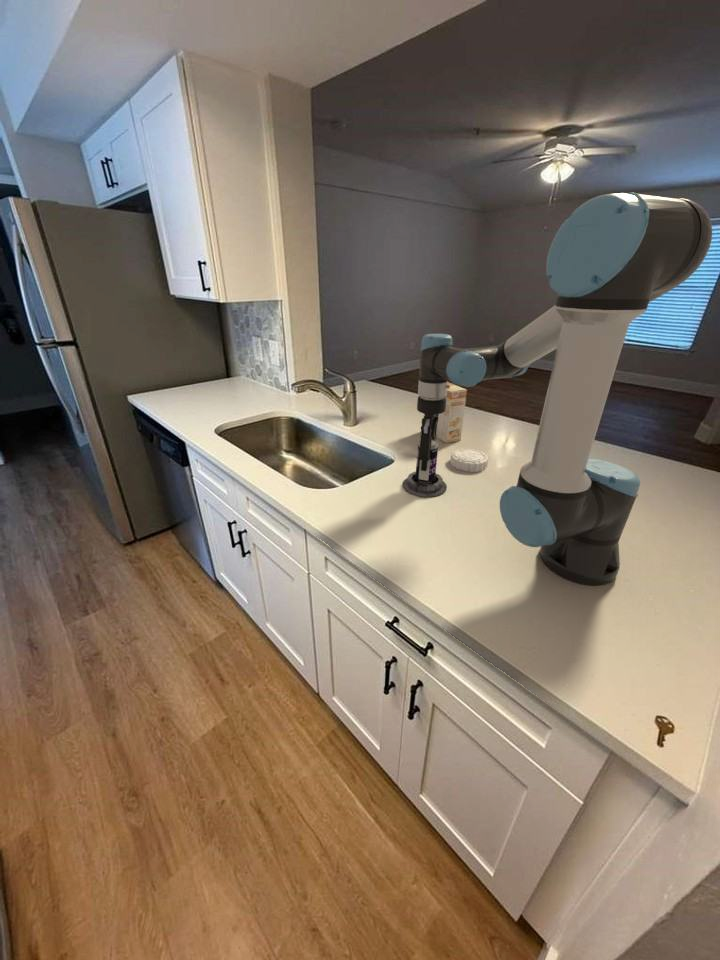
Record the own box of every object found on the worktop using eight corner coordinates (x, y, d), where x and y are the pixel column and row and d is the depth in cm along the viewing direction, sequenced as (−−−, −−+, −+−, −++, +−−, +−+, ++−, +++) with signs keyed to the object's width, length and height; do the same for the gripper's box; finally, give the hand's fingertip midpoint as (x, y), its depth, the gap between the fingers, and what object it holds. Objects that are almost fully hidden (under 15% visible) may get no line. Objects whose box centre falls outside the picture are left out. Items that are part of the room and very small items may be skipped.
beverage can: (419, 485, 111) (422, 447, 105) (412, 476, 116) (414, 439, 110) (438, 483, 112) (442, 444, 107) (429, 474, 117) (433, 437, 112)
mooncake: (445, 468, 126) (447, 458, 125) (455, 454, 136) (456, 444, 134) (483, 475, 122) (485, 465, 120) (490, 460, 131) (491, 451, 130)
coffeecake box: (461, 440, 146) (468, 389, 137) (445, 443, 144) (450, 391, 135) (440, 427, 159) (444, 379, 149) (424, 430, 156) (428, 381, 147)
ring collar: (443, 500, 108) (444, 492, 107) (397, 493, 112) (398, 485, 110) (449, 479, 119) (450, 472, 118) (407, 473, 122) (408, 466, 121)
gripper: (441, 408, 94) (432, 491, 104) (451, 388, 109) (443, 463, 120) (410, 405, 96) (405, 487, 107) (424, 386, 111) (419, 459, 122)
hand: (425, 474), depth 113 cm, fingers closed on beverage can, 6 cm apart
